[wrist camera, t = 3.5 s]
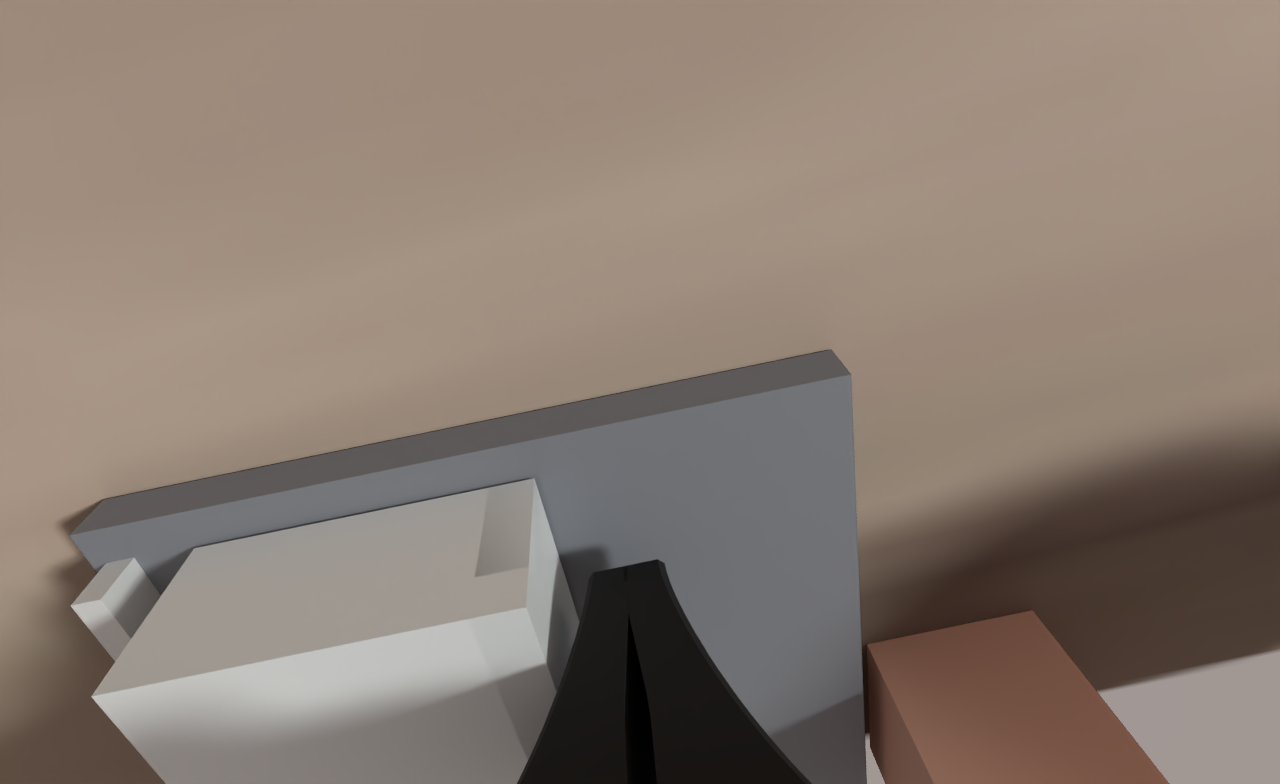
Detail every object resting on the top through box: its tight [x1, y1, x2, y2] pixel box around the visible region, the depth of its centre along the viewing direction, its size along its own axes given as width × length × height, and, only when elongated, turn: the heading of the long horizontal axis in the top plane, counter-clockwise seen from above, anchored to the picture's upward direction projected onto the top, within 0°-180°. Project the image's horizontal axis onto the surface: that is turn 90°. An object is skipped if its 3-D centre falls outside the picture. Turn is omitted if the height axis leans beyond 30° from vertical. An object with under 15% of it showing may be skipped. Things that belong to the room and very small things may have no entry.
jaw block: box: [867, 610, 1169, 784], centre depth 15 cm, size 4×4×5 cm
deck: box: [69, 350, 867, 784], centre depth 14 cm, size 14×14×4 cm
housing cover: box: [91, 478, 579, 784], centre depth 12 cm, size 6×5×3 cm
